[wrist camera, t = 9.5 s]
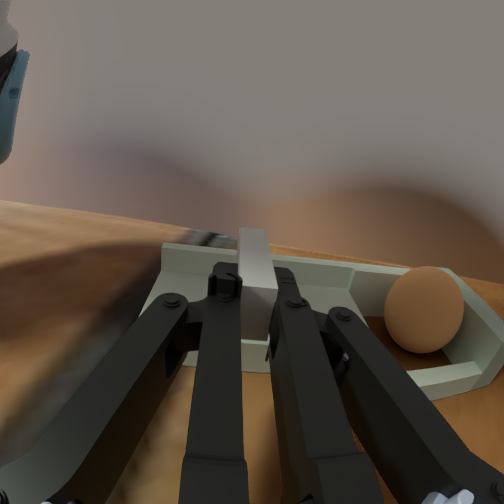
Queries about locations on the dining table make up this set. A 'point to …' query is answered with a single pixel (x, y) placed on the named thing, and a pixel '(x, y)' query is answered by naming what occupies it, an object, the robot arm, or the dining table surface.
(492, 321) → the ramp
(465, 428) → the dining table surface
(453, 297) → the ball
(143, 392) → the robot arm
